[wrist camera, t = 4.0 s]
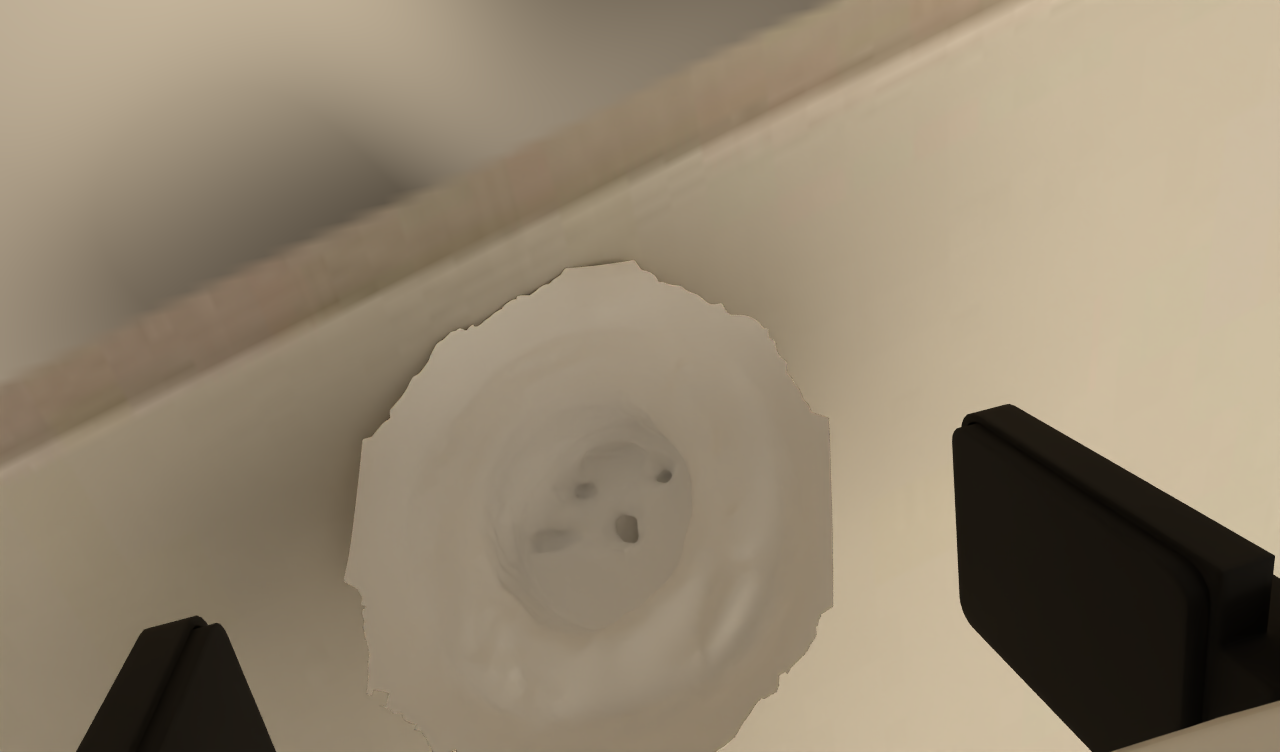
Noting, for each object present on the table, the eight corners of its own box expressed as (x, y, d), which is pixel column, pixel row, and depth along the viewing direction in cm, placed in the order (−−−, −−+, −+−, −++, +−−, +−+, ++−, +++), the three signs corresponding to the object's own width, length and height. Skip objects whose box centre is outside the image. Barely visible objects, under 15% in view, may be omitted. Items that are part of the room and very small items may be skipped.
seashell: (529, 445, 20) (419, 813, 16) (405, 291, 17) (210, 708, 12) (876, 417, 17) (873, 866, 12) (817, 220, 14) (780, 746, 9)
